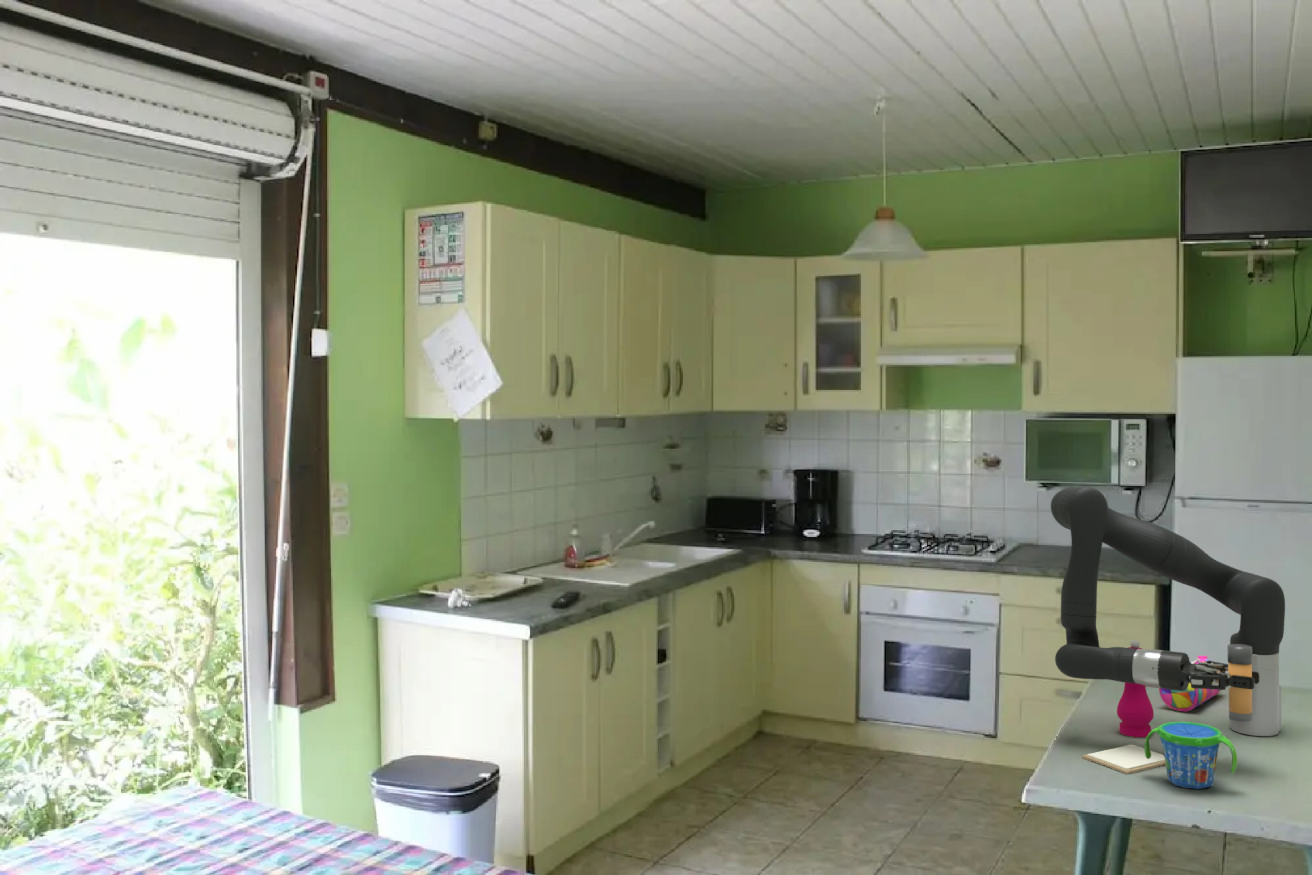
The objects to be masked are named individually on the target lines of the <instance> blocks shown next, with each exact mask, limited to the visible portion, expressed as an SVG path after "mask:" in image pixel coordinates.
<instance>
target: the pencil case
mask: <svg viewBox="0 0 1312 875" xmlns="http://www.w3.org/2000/svg"><path fill="white" fill-rule="evenodd" d="M1206 661H1212V660H1211V659H1208V656H1207V655H1197V658H1196V659H1194V660H1193V661H1190V663H1191V664H1198V662H1206ZM1158 691H1159V692H1158V693H1159V695H1160V698H1161V699H1162V702H1163V703H1164V704H1165V706H1167V708H1168V707H1169V708H1170V709H1172V710H1174V711H1177V710H1178V711H1177V712H1182V711H1183V713H1184V712H1190V711H1192V710H1193V709H1195V708H1197V707H1200V706H1201V705H1203V704H1204V703H1206V702H1207V701H1208V700H1210V699H1211V698H1214V697H1215V696H1217V695H1218V694H1219V693H1220V692H1221V691H1222V690H1219V689H1199V688H1196V689H1194V688H1191V683H1189V685H1188V687H1187V689H1186V690H1185V691H1177V690H1169V689H1162V688H1158Z"/></svg>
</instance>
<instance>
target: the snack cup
mask: <svg viewBox="0 0 1312 875" xmlns="http://www.w3.org/2000/svg"><path fill="white" fill-rule="evenodd" d="M1155 733H1157V734H1158V736H1159V739H1160V743H1161V745H1162V751H1163V755H1164V757H1165V763H1166V765H1165V769H1166V774H1167V777H1168V780H1169V781H1170V782H1171V783H1172V784H1173V785H1175V786H1178V787H1181V788H1184V789H1196V790H1199V789H1206V787H1207V788H1209V787H1212V786H1213V783H1214V779H1215V778H1214V776H1215V771H1216V767H1217V760H1218V751H1219V746H1220V743H1222V744H1224V745H1225V746H1227V747H1228V748H1229V752H1230V754H1231V768H1230V773H1231V774H1234V773H1235V771H1236V768H1237V766H1238V754H1237V751H1236V748H1235V746H1234V744H1233V743H1232V742H1231V740H1230V739H1229V738H1228V737H1226V736H1224V735H1223V733H1222V731H1221V730H1220V729H1218V728H1217V727H1214V726H1211V725H1208V724H1204V723H1199V722H1191V721H1171V722H1165V723H1162V724H1161V725H1159V726H1157V727H1155V728H1153V729H1151V732H1150V733H1149V734H1148V736H1147V737H1145V740H1144V747H1143V748H1144V749H1145V755H1146V758H1147V759H1149V758H1150V757H1151V752H1150V751H1151V746H1150V739H1151V738H1152V736H1153V735H1154V734H1155Z"/></svg>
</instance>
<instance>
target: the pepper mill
mask: <svg viewBox="0 0 1312 875" xmlns="http://www.w3.org/2000/svg"><path fill="white" fill-rule="evenodd" d="M1140 645H1141V644H1140V642H1139V641H1138V640H1137V639H1132V640H1131V641H1130V646H1129V647H1127V648H1133V649H1143V648H1141V647H1140ZM1146 687H1147V686H1143V685H1139V684H1133V683H1126V682H1124V688H1123V692H1122V695H1121V697H1120V699H1119V701H1118V704H1117V707H1116V714H1117V717H1118V718H1119V720H1120V721H1121V722H1119V725H1118V726H1119V729H1118V730H1119V733H1120V734H1122V735H1123V736H1127V737H1130V736H1132V737H1133V738H1147V736H1148V734H1149V733H1150V732H1151V731H1152V726H1151V724H1149V723H1151V722H1152V721H1153V719H1154V716H1155V714H1154V708H1153V705H1152V703H1151V700H1150V698H1149V696H1148V693H1147V688H1146ZM1132 737H1131V738H1132Z"/></svg>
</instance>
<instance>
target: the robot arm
mask: <svg viewBox="0 0 1312 875" xmlns="http://www.w3.org/2000/svg"><path fill="white" fill-rule="evenodd" d="M1108 505H1109V504H1108V502H1107V498H1106V497H1105V495H1104V494H1103V492H1101V491H1100V490H1098V489H1096V488H1094V487H1090V486H1072V487H1071V486H1070V487H1067V488H1064V489H1062V490H1059V491H1058V492H1057V493H1055V494H1054V496H1053V497H1052V498H1051V502H1050V512H1051V514H1052V517H1053V518H1054V519H1055V522H1056V523H1057V524H1058V525H1060V526H1062V527H1063V528H1065V529H1068V530H1070V534H1071V535H1070V536H1071V548H1070V555H1069V561H1068V564H1067V568H1066V570H1065V573H1064V578H1063V581H1062V584H1061V585H1062V586H1061V595H1060V622H1061V626H1062V627H1063V628H1064V629H1065V639H1066V643H1065V644H1064V645H1062V646H1060V647H1059V649H1058V650H1057V652H1056V654H1055V656H1054V660H1055V665H1056V667H1057V669H1058V670H1059V671H1060V672H1061V673H1062V674H1063V675H1065V676H1067V677H1070V678H1074V679H1082V680H1106V681H1107V680H1108V681H1115V682H1120V683H1125V682H1126V683H1133V684H1139V685H1143V686H1146V687H1147V688H1149V687H1150V688H1154V689H1155V688H1156V689H1159V688H1162V689H1169V690H1177V691H1185V690H1186V689H1187V687H1188V685H1189V683H1191V688H1194V689H1196V688H1199V689H1219V690H1221V691H1225V690H1226V689H1229V688H1232V687H1236V688H1244V689H1252V721H1248V722H1241V721H1235V720H1231V719H1230V718H1229V728H1230V729H1231V730H1232V731H1233V732H1237V733H1240V734H1243V735H1247V736H1254V737H1255V736H1257V737H1272V736H1277V735H1278V734H1280V731H1282V686H1281V685H1280V645H1281V643H1282V640H1283V639H1284V634H1285V616H1286V615H1285V614H1286V600H1285V599H1286V598H1285V594H1284V589H1283V588H1282V587H1281V586H1280V584H1279V583H1278V582H1276V581H1275V580H1273V579H1271V578H1269V577H1266V576H1261V575H1258V574H1255V573H1251V572H1247V571H1244V570H1241V569H1238V568H1235V567H1233V566H1230V565H1228V564H1226V563H1223V562H1221V561H1218V560H1217V559H1214V558H1213V557H1211V556H1210V555H1209V554H1207V552H1205V551H1204V550H1203V549H1202V548H1201V547H1199V546H1198V545H1196V544H1195V543H1194V542H1192V541H1190V540H1189V539H1187V538H1186V537H1184V536H1182V535H1180V534H1178V533H1176V532H1174V531H1172V530H1170V529H1168V528H1166V527H1163V526H1160V525H1158V524H1155V523H1152V522H1149V521H1146V520H1143V519H1140V518H1136V517H1133V516H1130V515H1126V514H1123V513H1121V512H1118V511H1116V510H1114V509H1112V508H1110V507H1109V506H1108ZM1103 544H1105V545H1106V546H1108V547H1111V548H1112V549H1113V550H1115V551H1117V552H1119V553H1120V554H1122V555H1123V556H1125V557H1127V558H1129V559H1130V560H1132V561H1134V562H1136V563H1138V564H1140V565H1141V566H1143V567H1145V568H1147V569H1149V570H1151V571H1152V572H1155V573H1157V574H1159V575H1161V576H1163V577H1165V578H1168V579H1170V580H1171V581H1175V582H1177V583H1179V584H1182V585H1186V586H1188V587H1192V588H1194V589H1197V590H1198V591H1201V592H1203V593H1204V594H1206V595H1207V596H1209V597H1210V598H1212V599H1214V600H1216V602H1218V603H1221V604H1222V605H1223V606H1225V608H1227V609H1229V610H1231V611H1232V612H1234V613H1235V614H1237V615H1240V623H1239V630H1238V631H1237V632H1235V633H1232V635H1231V636H1230V637H1229V638H1230V639H1229V644H1244V645H1249V646H1252V677H1247V676H1238V675H1232V677H1231V674H1228V673H1226V672H1228V663H1223V662H1219V661H1215V660H1214V661H1213V660H1211V661H1206V662H1198V664H1191V661H1190V657H1189V655H1188V654H1187V653H1186V652H1180V651H1171V650H1163V649H1153V648H1142V649H1133V648H1128V647H1123V646H1113V647H1111V646H1110V647H1102V646H1101V647H1100V642H1099V641H1100V640H1099V636H1098V635H1099V634H1098V629H1097V600H1098V596H1097V594H1098V578H1099V568H1100V559H1101V556H1102V555H1101V553H1102V547H1103Z"/></svg>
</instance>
